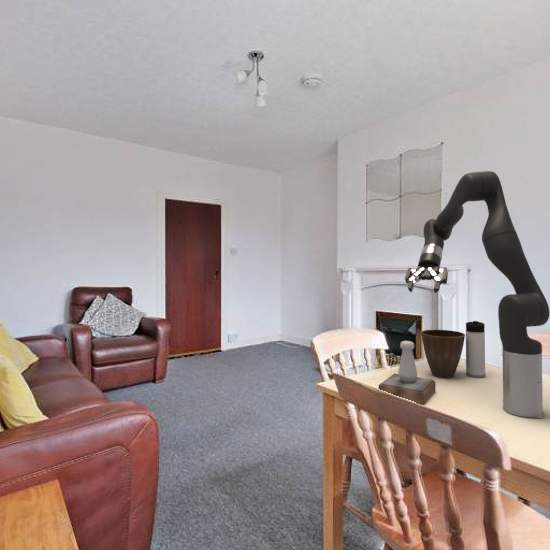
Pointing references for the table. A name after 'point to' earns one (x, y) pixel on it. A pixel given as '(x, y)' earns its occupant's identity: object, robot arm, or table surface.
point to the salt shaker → (407, 363)
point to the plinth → (409, 388)
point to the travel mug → (475, 349)
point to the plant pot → (443, 351)
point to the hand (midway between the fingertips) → (422, 290)
